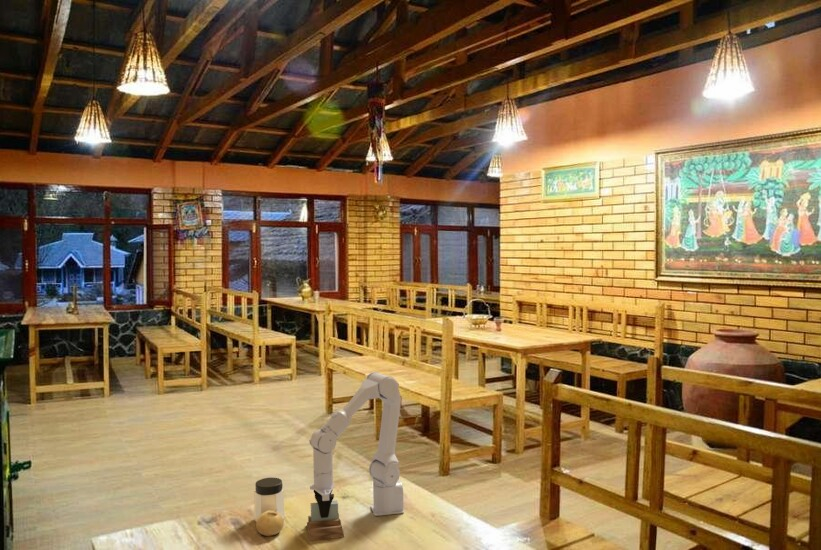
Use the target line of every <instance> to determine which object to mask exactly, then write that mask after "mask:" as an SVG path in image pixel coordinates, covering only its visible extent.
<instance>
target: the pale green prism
mask: <svg viewBox="0 0 821 550" xmlns="http://www.w3.org/2000/svg"><path fill="white" fill-rule="evenodd" d="M338 513H339V502H338V500H332V502H331V505H330V510H329V515H328V517H325V518H321V515H320V510H319V505H318V503H317V502H310V516H311V522H315V521H325V520H334V519H338Z"/></svg>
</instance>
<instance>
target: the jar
mask: <svg viewBox="0 0 821 550" xmlns="http://www.w3.org/2000/svg"><path fill="white" fill-rule="evenodd" d="M253 495H254V497H253V498H254V500H253V501H254V502H253V503H254V521H255V522H257V519H258V518H259V516H260V515H261V514H262V513H264V512H265V511H268V510H271V511H275V510H277V511H276V512H278V513H279V514H280V515H281V516H282V518H283V520H284V519H285V489H284V488H283V480H282V479H281V478H279V477H265V478H261V479H257V481H255V490H254V491H253Z"/></svg>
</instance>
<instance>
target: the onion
mask: <svg viewBox="0 0 821 550" xmlns="http://www.w3.org/2000/svg"><path fill="white" fill-rule="evenodd" d="M276 511H277V510H275V511H271V510H268V511H265V512H264V513H262V514H261V515H260V516H259V518H258V519H257V522H256V521H255V522H256V523H255V528H256V530H257V532H258V533H259V534H260V535H262V536H264V537H271V536H275V535H277V534H279V533H280V532H281V531H282V530H283V529H284V524H285V523H284V519H283V518H282V516H281V515H280V514H279V513H278V512H276Z"/></svg>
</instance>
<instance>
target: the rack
mask: <svg viewBox="0 0 821 550" xmlns="http://www.w3.org/2000/svg"><path fill="white" fill-rule="evenodd" d="M306 527H307V528H306V529H307V532H308V533H307V535H308V540H309V541H311V542H312V541H319V540H328V539H329V540H331V539H339V538H344V537H345V532H344V529H343V525H342V520H341V518H340V514H339V512H338V519H334V520H325V521H315V522H311V515H308V516H307V522H306Z"/></svg>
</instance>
